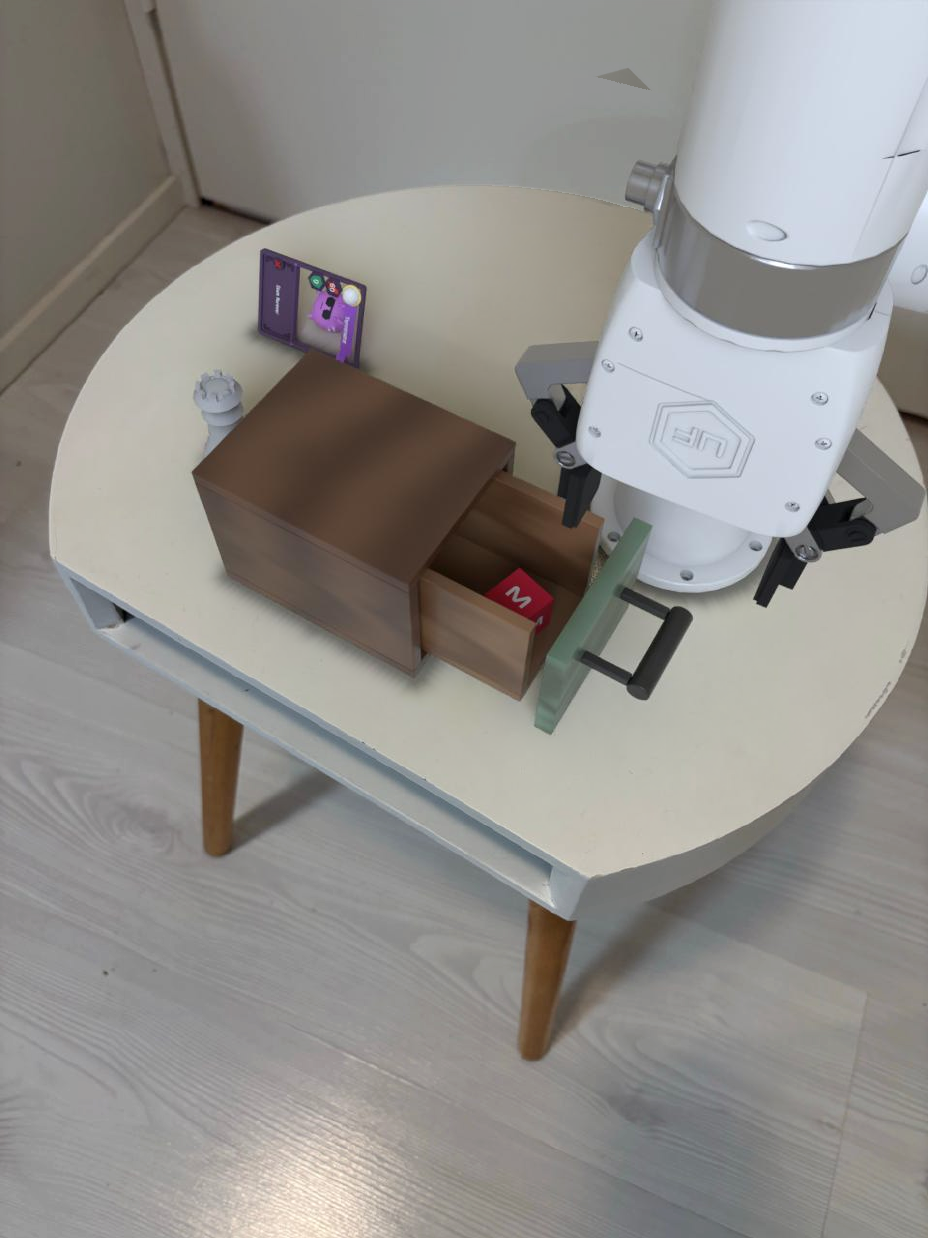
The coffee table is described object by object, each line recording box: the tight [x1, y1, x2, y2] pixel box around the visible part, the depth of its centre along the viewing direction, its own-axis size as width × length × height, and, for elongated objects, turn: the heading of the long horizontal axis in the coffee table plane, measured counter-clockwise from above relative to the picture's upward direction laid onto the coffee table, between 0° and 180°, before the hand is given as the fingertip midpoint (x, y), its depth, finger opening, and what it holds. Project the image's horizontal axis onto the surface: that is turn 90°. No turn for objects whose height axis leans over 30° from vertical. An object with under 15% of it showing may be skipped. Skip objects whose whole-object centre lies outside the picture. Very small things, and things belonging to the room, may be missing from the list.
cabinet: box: [190, 348, 517, 679], centre depth 61 cm, size 15×12×11 cm
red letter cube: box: [484, 568, 554, 635], centre depth 59 cm, size 3×3×3 cm
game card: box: [257, 247, 368, 370], centre depth 74 cm, size 7×5×9 cm
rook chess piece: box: [192, 369, 245, 459], centre depth 66 cm, size 4×4×8 cm
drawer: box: [417, 470, 694, 736], centre depth 58 cm, size 18×11×9 cm, turn 59°
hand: (672, 544), depth 46 cm, fingers open, 9 cm apart
